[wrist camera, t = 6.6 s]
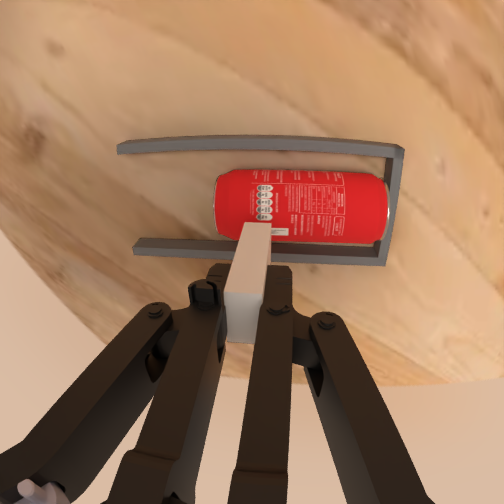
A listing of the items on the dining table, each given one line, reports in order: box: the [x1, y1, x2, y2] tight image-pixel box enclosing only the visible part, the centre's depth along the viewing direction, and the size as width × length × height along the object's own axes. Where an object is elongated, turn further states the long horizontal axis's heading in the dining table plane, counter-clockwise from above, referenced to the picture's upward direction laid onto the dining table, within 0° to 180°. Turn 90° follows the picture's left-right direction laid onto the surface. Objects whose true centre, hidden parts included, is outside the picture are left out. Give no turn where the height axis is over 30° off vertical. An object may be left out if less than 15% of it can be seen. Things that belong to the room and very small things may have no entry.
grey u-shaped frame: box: [117, 135, 405, 266], centre depth 25 cm, size 22×10×2 cm, turn 89°
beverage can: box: [213, 170, 390, 244], centre depth 23 cm, size 5×5×12 cm
